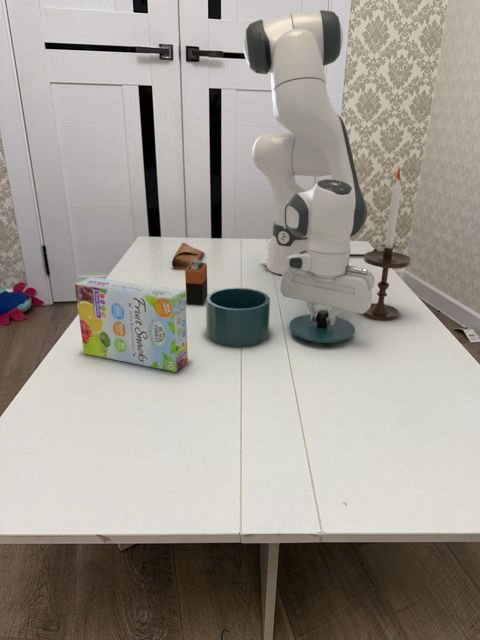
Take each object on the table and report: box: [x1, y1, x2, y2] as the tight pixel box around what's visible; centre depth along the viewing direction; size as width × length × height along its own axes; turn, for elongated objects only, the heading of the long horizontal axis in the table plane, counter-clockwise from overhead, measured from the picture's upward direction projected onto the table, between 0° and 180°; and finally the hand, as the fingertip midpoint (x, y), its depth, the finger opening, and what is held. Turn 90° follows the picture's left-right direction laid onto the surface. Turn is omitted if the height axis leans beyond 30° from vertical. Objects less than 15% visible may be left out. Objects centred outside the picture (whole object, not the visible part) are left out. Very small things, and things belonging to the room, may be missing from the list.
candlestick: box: [362, 165, 412, 321], centre depth 118 cm, size 11×11×35 cm
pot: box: [205, 287, 271, 348], centre depth 111 cm, size 14×14×8 cm
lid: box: [288, 309, 356, 344], centre depth 112 cm, size 15×15×5 cm
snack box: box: [74, 276, 189, 373], centre depth 97 cm, size 21×6×15 cm, turn 71°
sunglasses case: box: [171, 242, 205, 271], centre depth 161 cm, size 18×7×7 cm
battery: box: [184, 259, 208, 306], centre depth 128 cm, size 4×7×10 cm, turn 175°
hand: (322, 322), depth 112 cm, fingers closed on lid, 2 cm apart
